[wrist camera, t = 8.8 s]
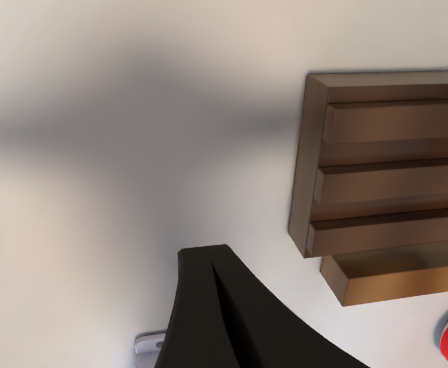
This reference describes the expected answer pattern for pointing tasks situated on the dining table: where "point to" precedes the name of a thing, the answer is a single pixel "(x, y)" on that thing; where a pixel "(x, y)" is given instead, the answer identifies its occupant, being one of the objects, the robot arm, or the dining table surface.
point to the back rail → (387, 273)
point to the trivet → (371, 163)
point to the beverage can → (444, 342)
